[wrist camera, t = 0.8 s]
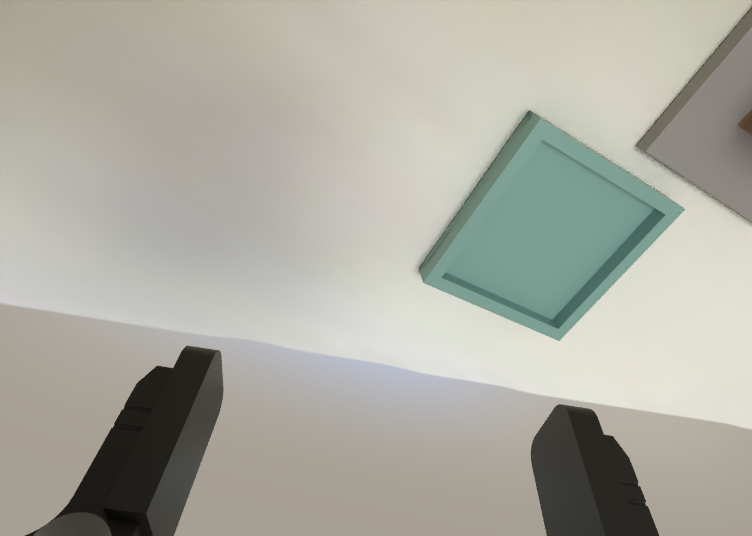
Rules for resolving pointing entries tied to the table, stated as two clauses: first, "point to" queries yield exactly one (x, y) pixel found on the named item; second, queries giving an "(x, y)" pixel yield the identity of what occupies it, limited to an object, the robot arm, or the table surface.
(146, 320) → the table surface
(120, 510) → the robot arm
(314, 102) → the table surface
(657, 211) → the tray
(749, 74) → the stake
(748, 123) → the collar
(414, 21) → the table surface
